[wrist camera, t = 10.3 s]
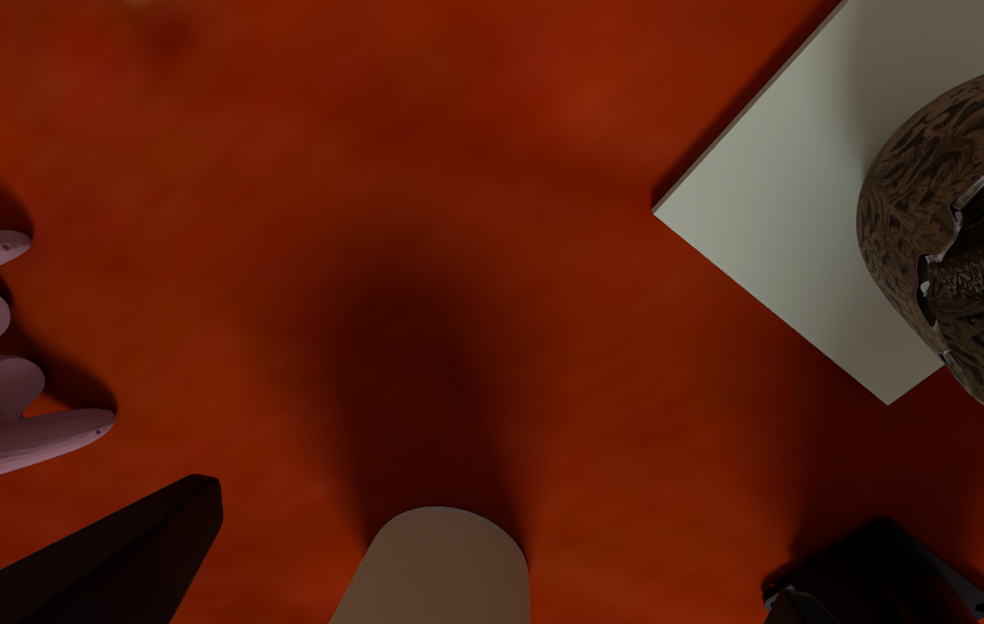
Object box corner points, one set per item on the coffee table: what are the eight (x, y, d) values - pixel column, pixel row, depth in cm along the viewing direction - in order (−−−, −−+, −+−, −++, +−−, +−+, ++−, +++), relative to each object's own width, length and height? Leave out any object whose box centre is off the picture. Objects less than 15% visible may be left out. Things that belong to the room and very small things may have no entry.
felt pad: (1212, 149, 16) (1235, 151, 15) (879, 396, 20) (887, 405, 20) (952, -121, 14) (967, -129, 14) (651, 209, 19) (653, 213, 18)
